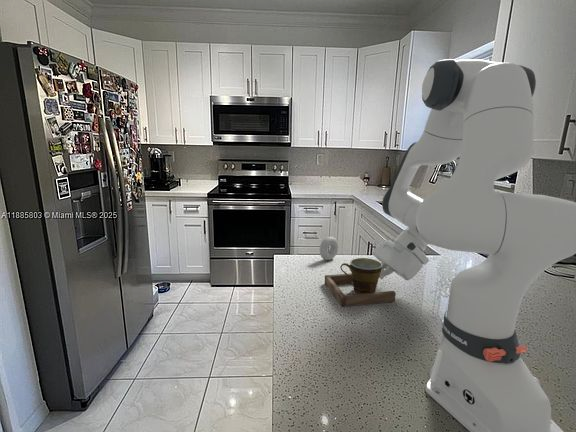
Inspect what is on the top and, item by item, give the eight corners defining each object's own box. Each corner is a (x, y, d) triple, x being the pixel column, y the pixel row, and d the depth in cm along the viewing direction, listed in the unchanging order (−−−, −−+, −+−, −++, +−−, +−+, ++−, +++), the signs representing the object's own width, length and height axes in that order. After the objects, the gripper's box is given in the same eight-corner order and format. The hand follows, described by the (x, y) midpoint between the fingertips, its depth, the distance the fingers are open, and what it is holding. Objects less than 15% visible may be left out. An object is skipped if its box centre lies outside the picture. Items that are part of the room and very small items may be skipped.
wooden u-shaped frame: (394, 301, 97) (395, 292, 97) (342, 306, 94) (342, 297, 93) (370, 279, 113) (371, 271, 112) (324, 283, 109) (324, 275, 109)
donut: (333, 256, 137) (334, 233, 134) (339, 258, 134) (340, 235, 132) (317, 261, 130) (318, 238, 128) (323, 263, 128) (324, 240, 126)
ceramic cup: (378, 287, 107) (381, 259, 105) (381, 301, 97) (383, 270, 95) (340, 283, 110) (341, 256, 107) (338, 296, 100) (339, 266, 98)
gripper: (386, 231, 113) (358, 259, 113) (420, 250, 93) (387, 283, 93) (396, 242, 114) (369, 270, 115) (432, 263, 95) (400, 296, 95)
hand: (377, 276), depth 104 cm, fingers closed
